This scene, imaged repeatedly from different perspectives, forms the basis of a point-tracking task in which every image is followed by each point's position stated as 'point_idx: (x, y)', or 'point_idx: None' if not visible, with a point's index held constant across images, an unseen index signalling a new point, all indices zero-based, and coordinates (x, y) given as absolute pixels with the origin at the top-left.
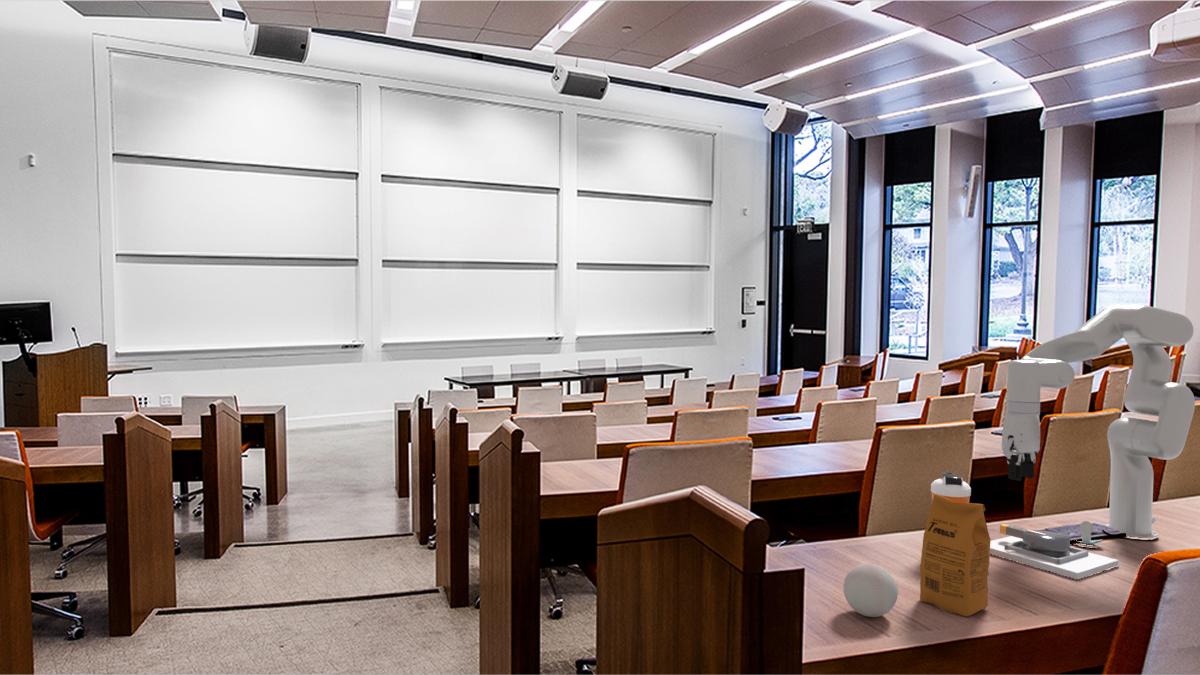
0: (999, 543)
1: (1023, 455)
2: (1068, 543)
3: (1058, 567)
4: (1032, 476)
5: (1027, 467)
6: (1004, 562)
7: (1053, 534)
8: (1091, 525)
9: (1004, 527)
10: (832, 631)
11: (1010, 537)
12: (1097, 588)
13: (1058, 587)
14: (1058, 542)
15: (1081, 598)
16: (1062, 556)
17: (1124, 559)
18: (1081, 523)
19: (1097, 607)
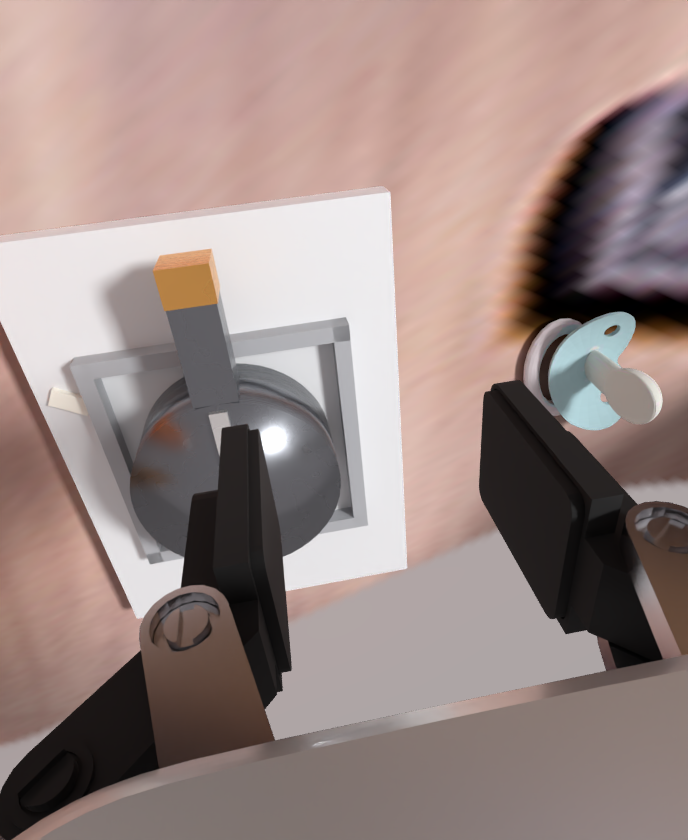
0: (120, 282)
1: (651, 614)
2: None
3: (116, 573)
4: (492, 507)
5: (529, 533)
6: (4, 412)
7: (294, 487)
8: (637, 422)
9: (163, 297)
10: None
11: (283, 222)
12: (139, 647)
13: (14, 625)
14: None
15: (14, 683)
16: None
17: None
18: (642, 383)
19: (6, 722)
